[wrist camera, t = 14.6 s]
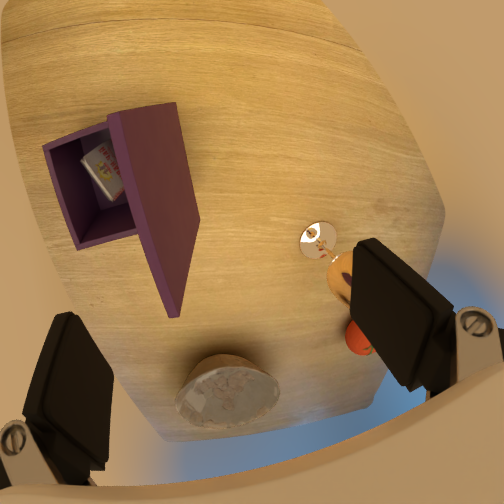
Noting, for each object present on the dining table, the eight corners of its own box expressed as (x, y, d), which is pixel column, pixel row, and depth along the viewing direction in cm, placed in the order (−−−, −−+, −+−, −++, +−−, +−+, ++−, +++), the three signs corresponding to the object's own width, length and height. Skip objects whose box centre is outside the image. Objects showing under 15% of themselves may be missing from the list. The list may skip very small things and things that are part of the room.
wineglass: (333, 256, 58) (390, 320, 41) (296, 260, 56) (346, 331, 39) (339, 219, 54) (405, 275, 37) (300, 221, 53) (358, 283, 35)
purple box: (99, 214, 44) (76, 251, 32) (76, 133, 37) (41, 145, 26) (191, 189, 46) (196, 219, 35) (174, 103, 39) (172, 102, 28)
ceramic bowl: (254, 318, 60) (267, 353, 52) (276, 380, 72) (287, 410, 64) (154, 350, 59) (154, 387, 50) (194, 405, 70) (199, 436, 62)
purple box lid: (168, 318, 20) (179, 317, 20) (105, 115, 13) (119, 111, 13) (193, 221, 34) (200, 220, 34) (168, 103, 27) (175, 101, 27)
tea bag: (116, 188, 42) (102, 210, 33) (91, 153, 38) (70, 167, 30) (135, 174, 42) (124, 193, 33) (110, 138, 38) (92, 148, 29)
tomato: (330, 336, 69) (349, 365, 60) (352, 302, 65) (375, 330, 57) (360, 339, 73) (378, 365, 64) (381, 308, 69) (403, 333, 60)
